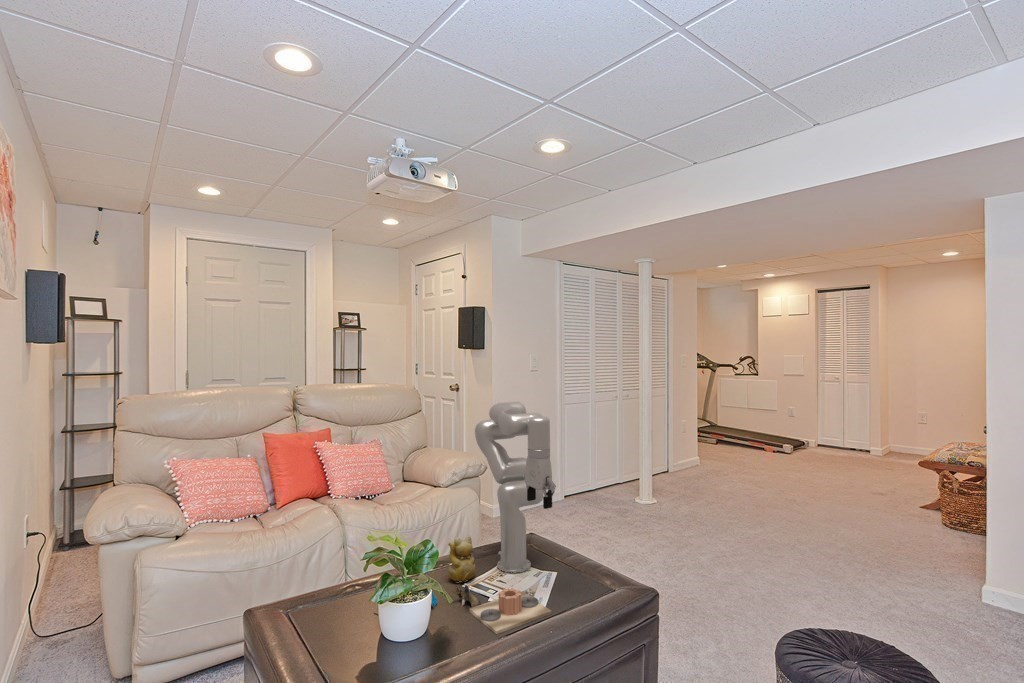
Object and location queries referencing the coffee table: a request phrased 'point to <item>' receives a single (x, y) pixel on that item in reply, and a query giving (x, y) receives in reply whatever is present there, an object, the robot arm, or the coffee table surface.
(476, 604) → the eagle figurine
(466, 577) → the decorative figurine
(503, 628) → the board
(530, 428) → the robot arm
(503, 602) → the gear wheel
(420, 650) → the coffee table surface
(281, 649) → the coffee table surface
